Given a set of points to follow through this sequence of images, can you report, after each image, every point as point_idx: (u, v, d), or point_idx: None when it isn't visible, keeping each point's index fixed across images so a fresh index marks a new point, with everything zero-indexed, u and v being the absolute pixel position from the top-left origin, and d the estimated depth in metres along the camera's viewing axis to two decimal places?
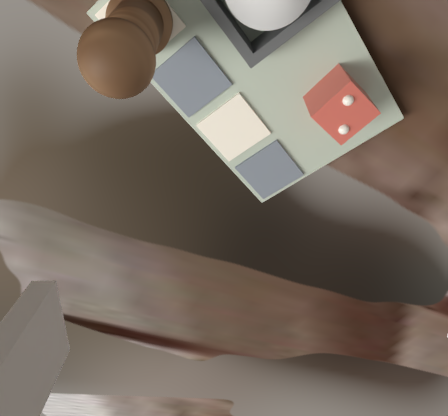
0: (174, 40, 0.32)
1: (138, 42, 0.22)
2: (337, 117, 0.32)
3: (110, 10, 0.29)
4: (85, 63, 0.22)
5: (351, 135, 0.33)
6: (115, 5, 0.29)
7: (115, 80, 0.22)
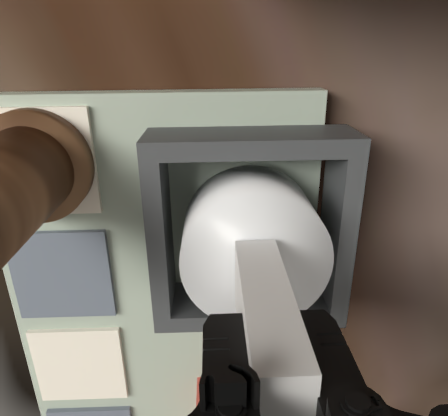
0: (72, 216, 0.19)
1: None
2: None
3: None
4: None
5: None
6: (9, 124, 0.16)
7: None
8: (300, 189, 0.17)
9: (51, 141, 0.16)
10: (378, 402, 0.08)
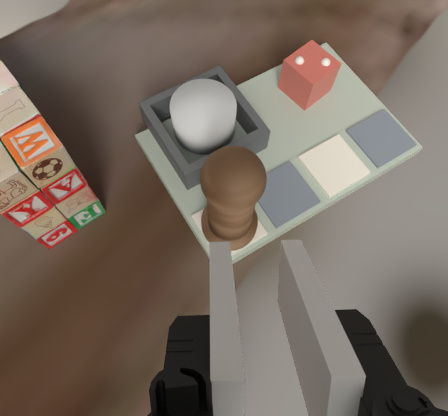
0: None
1: (218, 149, 0.27)
2: (314, 66, 0.38)
3: (215, 240, 0.34)
4: (225, 183, 0.25)
5: (331, 57, 0.39)
6: (212, 234, 0.34)
7: (241, 160, 0.25)
8: None
9: None
10: (426, 404, 0.08)
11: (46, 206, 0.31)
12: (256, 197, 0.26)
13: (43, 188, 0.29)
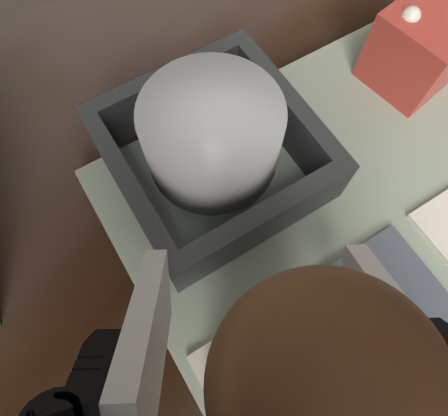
0: None
1: (270, 283, 0.07)
2: (443, 27, 0.18)
3: None
4: None
5: None
6: None
7: (394, 375, 0.05)
8: None
9: None
10: None
11: None
12: None
13: None
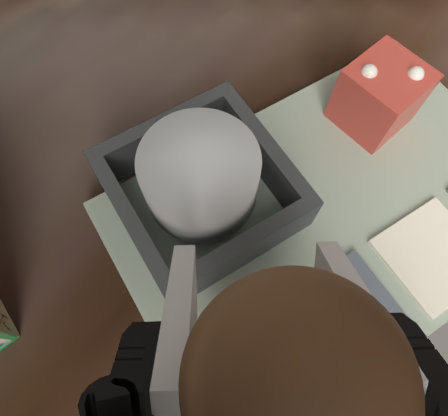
0: None
1: (240, 284, 0.08)
2: (396, 82, 0.21)
3: None
4: None
5: (425, 64, 0.22)
6: None
7: (344, 369, 0.06)
8: None
9: None
10: None
11: None
12: None
13: None
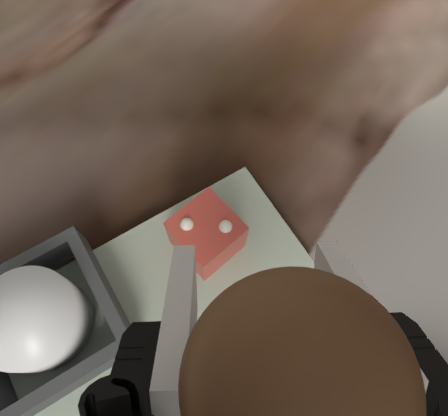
0: None
1: (240, 285, 0.08)
2: (207, 234, 0.26)
3: None
4: None
5: (235, 216, 0.26)
6: None
7: (345, 370, 0.06)
8: None
9: None
10: None
11: None
12: None
13: None
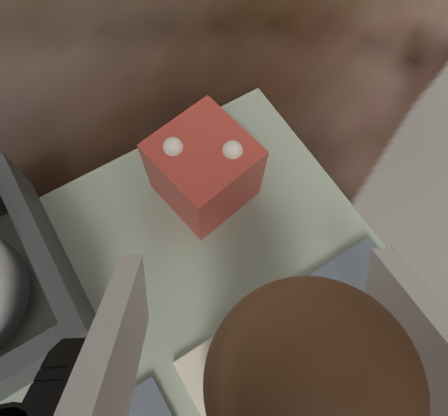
0: None
1: (263, 293, 0.08)
2: (205, 161, 0.17)
3: None
4: None
5: (247, 136, 0.17)
6: None
7: (366, 372, 0.07)
8: None
9: None
10: None
11: None
12: None
13: None
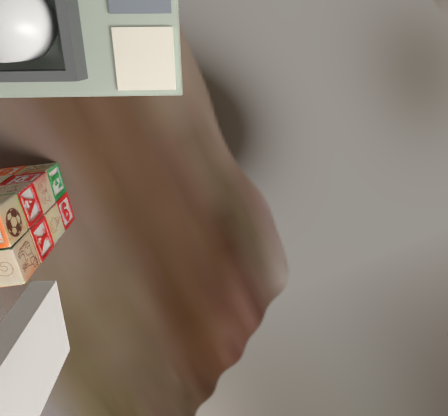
0: (129, 23, 0.33)
1: None
2: None
3: None
4: None
5: None
6: None
7: None
8: None
9: None
10: None
11: (42, 222, 0.33)
12: None
13: (29, 226, 0.31)
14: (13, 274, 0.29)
